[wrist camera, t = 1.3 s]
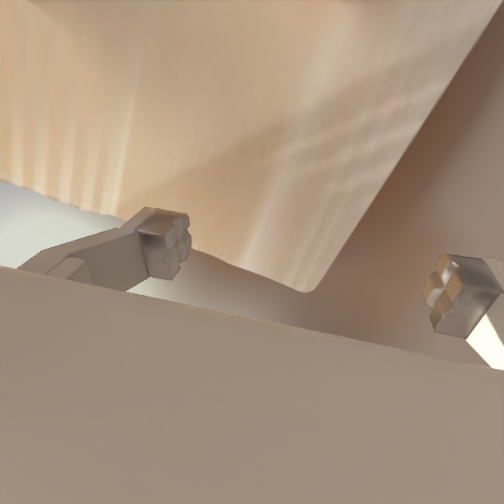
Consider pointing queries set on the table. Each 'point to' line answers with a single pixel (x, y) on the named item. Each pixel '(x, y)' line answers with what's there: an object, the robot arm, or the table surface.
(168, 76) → the table surface
